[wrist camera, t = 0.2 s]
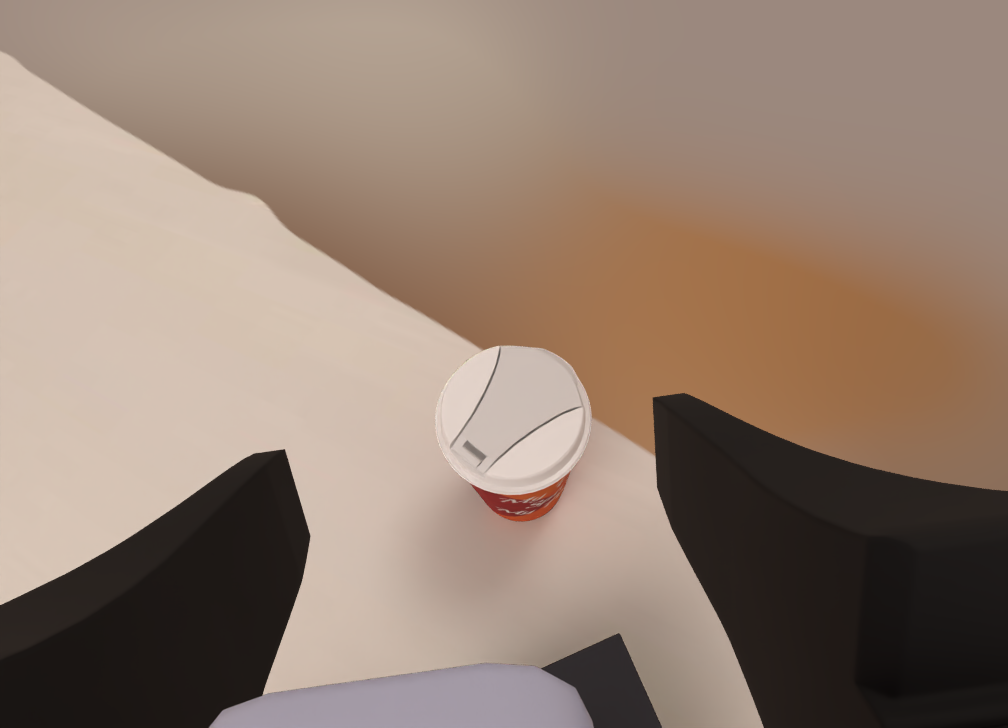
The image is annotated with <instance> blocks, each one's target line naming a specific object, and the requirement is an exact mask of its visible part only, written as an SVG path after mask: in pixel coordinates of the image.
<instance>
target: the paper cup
mask: <svg viewBox="0 0 1008 728" xmlns="http://www.w3.org/2000/svg"><path fill="white" fill-rule="evenodd" d="M591 423H592V417H591V407H590V403H589V398H588V396H587V393H586V391H585V389H584V386H583V385H582V383H581V382H580V380H579V378H578V377H577V375H576V373H575V371H574V369H573V368H572V366H571V365H570V364H568V363H567V362H566V361H565V360H564V359H562V358H561V357H559V356H557V355H556V354H554V353H552V352H550V351H547V350H545V349H542V348H531V347H522V346H496V347H492V348H489V349H486V350H484V351H482V352H480V353H478V354H476V355H474V356H473V357H471V358H470V359H468V360H467V361H466V362H464V363H463V364H462V365H461V366H460V367H459V368H458V369H457V370H456V371H455V372H454V373H453V375H452V376H451V377H450V378H449V380H448V381H447V383H446V384H445V386H444V388H443V390H442V392H441V394H440V397H439V400H438V403H437V408H436V413H435V428H436V436H437V439H438V443H439V446H440V449H441V451H442V453H443V455H444V457H445V459H446V460H447V461H448V463H449V464H450V465H451V467H452V468H453V469H454V470H455V471H456V472H457V473H458V474H459V475H460V476H461V477H462V478H464V479H465V480H466V481H468V482H469V483H470V484H471V485H472V486H473V487H474V489H475V490H476V491H477V492H478V494H479V495H480V496H481V497H482V499H483V500H484V501H485V503H486V504H487V505H488V506H489V507H490V508H491V509H492V510H493V511H494V512H496V513H497V514H498V515H500V516H502V517H504V518H506V519H509V520H513V521H530V520H534V519H537V518H539V517H541V516H543V515H544V514H546V513H547V512H548V511H550V510H551V509H552V508H553V507H554V505H555V504H556V503H557V501H558V499H559V498H560V496H561V494H562V492H563V489H564V487H565V484H566V482H567V479H568V476H569V474H570V471H571V469H572V468H573V467H574V466H575V465H576V464H577V462H578V461H579V459H580V458H581V456H582V455H583V452H584V450H585V448H586V446H587V444H588V440H589V436H590V433H591Z"/></svg>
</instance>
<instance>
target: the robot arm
mask: <svg viewBox="0 0 1008 728" xmlns="http://www.w3.org/2000/svg"><path fill="white" fill-rule="evenodd" d="M653 414H654V433H655V453H656V473H657V488H658V491H659V494H660V497H661V500H662V503H663V506H664V509H665V511H666V514H667V517H668V519H669V522H670V525H671V527H672V530H673V532H674V534H675V536H676V538H677V540H678V542H679V544H680V545H681V547H682V549H683V551H684V553H685V555H686V557H687V559H688V561H689V563H690V565H691V566H692V568H693V570H694V572H695V574H696V576H697V578H698V579H699V581H700V583H701V585H702V587H703V589H704V591H705V593H706V595H707V596H708V598H709V600H710V602H711V604H712V606H713V608H714V610H715V611H716V613H717V615H718V617H719V619H720V621H721V623H722V625H723V627H724V629H725V631H726V633H727V636H728V638H729V640H730V642H731V644H732V647H733V649H734V652H735V654H736V657H737V659H738V662H739V664H740V667H741V669H742V672H743V674H744V677H745V679H746V682H747V684H748V687H749V689H750V692H751V695H752V697H753V700H754V703H755V705H756V708H757V710H758V713H759V716H760V718H761V721H762V724H763V726H764V728H1008V491H1000V490H990V489H982V488H975V487H968V486H961V485H954V484H948V483H941V482H935V481H930V480H924V479H918V478H913V477H908V476H903V475H900V474H895V473H891V472H886V471H882V470H877V469H873V468H869V467H866V466H862V465H858V464H854V463H851V462H848V461H844V460H841V459H838V458H835V457H831V456H828V455H825V454H822V453H819V452H816V451H813V450H810V449H808V448H805V447H802V446H800V445H797V444H795V443H792V442H790V441H787V440H785V439H782V438H780V437H777V436H775V435H773V434H770V433H768V432H766V431H763V430H761V429H759V428H757V427H755V426H753V425H750V424H748V423H746V422H744V421H742V420H740V419H738V418H736V417H734V416H732V415H730V414H728V413H726V412H724V411H722V410H720V409H718V408H716V407H714V406H712V405H710V404H708V403H706V402H704V401H701V400H699V399H697V398H695V397H693V396H691V395H688V394H685V393H682V394H674V395H667V396H660V397H654V398H653ZM309 541H310V533H309V530H308V526H307V523H306V520H305V516H304V513H303V509H302V506H301V503H300V499H299V496H298V492H297V489H296V486H295V482H294V479H293V476H292V472H291V469H290V465H289V462H288V459H287V455H286V452H285V449H284V450H277V451H269V452H262V453H255V454H252V455H250V456H249V457H247V458H245V459H243V460H242V461H240V462H238V463H237V464H235V465H234V466H232V467H231V468H229V469H228V470H227V471H225V472H224V473H222V474H221V475H219V476H218V477H217V478H215V479H214V480H212V481H211V482H210V483H208V484H207V485H205V486H204V487H203V488H201V489H200V490H198V491H197V492H196V493H194V494H193V495H191V496H190V497H189V498H187V499H186V500H184V501H183V502H182V503H180V504H179V505H177V506H176V507H175V508H173V509H172V510H170V511H169V512H167V513H166V514H164V515H163V516H161V517H160V518H158V519H157V520H155V521H154V522H152V523H151V524H149V525H148V526H146V527H145V528H143V529H142V530H140V531H139V532H137V533H136V534H134V535H133V536H131V537H129V538H128V539H126V540H125V541H123V542H121V543H120V544H118V545H116V546H115V547H113V548H111V549H110V550H108V551H106V552H105V553H103V554H101V555H99V556H98V557H96V558H94V559H92V560H90V561H89V562H87V563H85V564H83V565H81V566H80V567H78V568H76V569H74V570H72V571H70V572H68V573H66V574H65V575H63V576H60V577H58V578H56V579H54V580H52V581H50V582H48V583H46V584H44V585H42V586H40V587H38V588H36V589H34V590H31V591H29V592H27V593H25V594H23V595H21V596H19V597H17V598H15V599H13V600H11V601H9V602H6V603H4V604H2V605H0V728H594V727H593V722H592V719H591V717H590V715H589V713H588V711H587V709H586V707H585V705H584V704H583V702H582V700H581V698H580V696H579V694H578V692H577V690H576V688H575V687H573V686H571V685H569V684H567V683H566V682H564V681H562V680H560V679H558V678H557V677H555V676H553V675H551V674H549V673H547V672H546V671H544V670H542V669H540V668H538V667H536V666H531V665H515V664H498V663H481V664H474V665H467V666H460V667H453V668H445V669H438V670H431V671H424V672H417V673H410V674H402V675H395V676H388V677H381V678H374V679H367V680H359V681H352V682H345V683H338V684H331V685H324V686H316V687H309V688H302V689H295V690H288V691H281V692H274V693H269V694H266V695H263V696H262V694H263V691H264V688H265V685H266V682H267V679H268V676H269V673H270V671H271V668H272V665H273V662H274V659H275V657H276V654H277V651H278V648H279V645H280V643H281V640H282V637H283V634H284V631H285V629H286V626H287V623H288V620H289V617H290V615H291V612H292V609H293V606H294V603H295V600H296V597H297V594H298V591H299V588H300V585H301V582H302V578H303V574H304V569H305V564H306V559H307V553H308V547H309Z"/></svg>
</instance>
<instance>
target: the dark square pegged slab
mask: <svg viewBox="0 0 1008 728" xmlns="http://www.w3.org/2000/svg"><path fill="white" fill-rule="evenodd" d="M541 669H542V670H544V671H546V672H547V673H549V674H551V675H553V676H555V677H557V678H558V679H560V680H562V681H564V682H566V683H567V684H569V685H571V686H573V687H575V688H576V690H577V692H578V694H579V696H580V698H581V700H582V702H583V704H584V705H585V707H586V709H587V711H588V713H589V715H590V717H591V719H592V722H593V727H594V728H662V726H661V724H660V722H659V720H658V717H657V715H656V713H655V711H654V709H653V706H652V704H651V702H650V700H649V697H648V695H647V693H646V691H645V689H644V686H643V684H642V682H641V680H640V677H639V675H638V673H637V671H636V668H635V666H634V664H633V662H632V660H631V657H630V655H629V653H628V651H627V648H626V646H625V644H624V642H623V640H622V637H621V635H620V634H619V633H618V634H616V635H614V636H611V637H609V638H607V639H605V640H603V641H600V642H598V643H596V644H594V645H592V646H589V647H587V648H585V649H583V650H581V651H578V652H576V653H574V654H572V655H570V656H567V657H565V658H563V659H561V660H559V661H556V662H554V663H552V664H550V665H548V666H545V667H543V668H541Z"/></svg>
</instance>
